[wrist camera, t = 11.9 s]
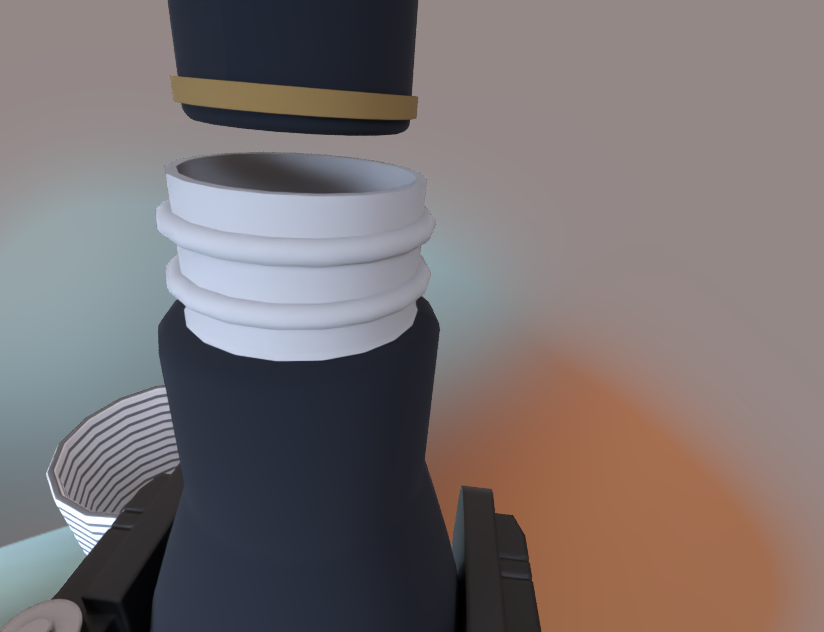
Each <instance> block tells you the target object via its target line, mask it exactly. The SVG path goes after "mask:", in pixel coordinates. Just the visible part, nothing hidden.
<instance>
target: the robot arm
mask: <svg viewBox="0 0 824 632" xmlns="http://www.w3.org/2000/svg"><path fill="white" fill-rule="evenodd" d="M183 487H184V480H183V474H182V469H181V464H180V463H179V464H178V466H177V467H176V468H175V470H174V471H173V472H172V474H165V473H161V474H159V475H158V476H157V477H155V478H154V479H153V480H151V481H150V482H148V483H147V484H146V485H144V486H143V487H142V488H140V489H139V491H138V492H137V493H136V494H135V496H134V497H133V498H132V499H131V501H130V502H129V503H128V504H127V506H126V507H125V510H124V512H121V513H120V515H119V516H118V517H117V518H116V520H115V521H114V522H113V523H112V527H111V528H110V529H108V530H107V531H106V532H105V534H104V535H103V536H102V537H101V539H100V540H99V541H98V542H97V544H96V545H95V546H94V547H93V549H92V550H91V551H90V552H89V554H88V555H87V556H86V558H85V559H84V560H83V561H82V563H81V564H80V565H79V566H78V568H77V569H76V570H75V571H74V573H73V574H72V575H71V576H70V578H69V579H68V580H67V582H66V583H65V584H64V585H63V587H62V588H61V589H60V590H59V592H58V593H57V594H56V595H55V596H54V597H53V598H52V599H51V600H49V601H45V602H42V603H39V604H36V605H34V606H32V607H30V608H28V609H26V610H24V611H23V612H21V613H20V614H18V615H17V616H15V617H14V618H13V619H11V620H10V621H9V622H8V623H6V624H5V625H4V626H3V627H2V628H1V629H0V632H150V625H151V613H152V601H153V596H154V592H155V588H156V584H157V581H158V577H159V573H160V569H161V565H162V562H163V558H164V554H165V550H166V547H167V543H168V539H169V536H170V532H171V529H172V525H173V522H174V519H175V515H176V512H177V508H178V505H179V501H180V498H181V494H182V491H183ZM452 552H453V556H454V560H455V563H456V567H457V575H458V583H459V591H460V599H459V632H541V627H540V621H539V615H538V609H537V603H536V598H535V592H534V586H533V582H532V574H531V568H530V563H529V556H528V550H527V544H526V538H525V535H524V533H523V531H522V530H521V528H520V526H519V525H518V523H517V521H516V520H515V518H514V516H513V515H505V514H498V513H495V508H494V499H493V492H492V490H491V489H486V488H477V487H468V486H461V489H460V495H459V501H458V507H457V512H456V518H455V525H454V531H453V542H452Z"/></svg>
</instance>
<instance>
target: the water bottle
mask: <svg viewBox="0 0 824 632" xmlns="http://www.w3.org/2000/svg"><path fill="white" fill-rule="evenodd" d="M168 7H169V14H170V22H171V29H172V36H173V43H174V52H175V59H176V67H177V74H178V76H170V80H171V87H172V94H173V100H174V101H175V102H179V103H181V104H182V108H183V110H184V112H185V113H186V114H187V116H189V117H190V118H191V119H193V120H196V121H200V122H204V123H209V124H214V125H221V126H228V127H236V128H244V129H255V130H264V131H275V132H289V133H304V134H322V135H348V136H350V135H351V136H361V135H362V136H369V135H371V136H374V135H375V136H377V135H392V134H398V133H401V132H404V131H405V130H406V129H407V128H408V127H409V123H410V120H411V119H415V118H416V117H417V103H418V97H416V96H412V82H413V68H414V52H415V38H416V24H417V10H418V0H168ZM165 173H166V179H167V185H168V192H169V199H167V200H166V201H165V202H163V203H161V204H160V205H159V206H158V207H157V209H156V224H157V229H158V230H159V232H160V233H161V234H162V235H164V236H166V237H167V238H168V239H170V240H171V241H173V242H174V243H176V244H177V249H178V254H177V255H176V256H175V257H174V258H173V259H172V260H171V261H170V262H169V263H168V264H167V266H166V279H167V288H168V290H169V292H170V293H171V294H172V295H174V296H175V297H176V298H177V300H176V301H175V302H174V304H173V305H172V307H171V308H170V309H169V311H168V312H167V313H166V315H165V316H164V318H163V319H162V320H161V322H160V324H159V326H158V342H159V357H160V362H161V367H162V373H163V377H164V383H165V388H166V393H167V398H168V403H169V408H170V413H171V418H172V424H173V429H174V434H175V439H176V444H177V449H178V454H179V459H180V464H181V469H182V474H183V480H184V487H183V491H182V494H181V498H180V501H179V505H178V508H177V512H176V515H175V519H174V522H173V525H172V529H171V532H170V536H169V539H168V543H167V547H166V550H165V554H164V558H163V562H162V565H161V569H160V573H159V577H158V581H157V584H156V588H155V592H154V596H153V601H152V613H151V625H150V632H459V599H460V591H459V583H458V575H457V567H456V563H455V560H454V556H453V552H452V548H451V545H450V541H449V537H448V533H447V529H446V526H445V523H444V519H443V516H442V513H441V509H440V506H439V503H438V500H437V496H436V493H435V490H434V487H433V483H432V480H431V477H430V474H429V471H428V468H427V465H426V462H425V452H426V443H427V434H428V426H429V417H430V409H431V400H432V391H433V383H434V374H435V366H436V358H437V349H438V341H439V331H440V328H439V323H438V320H437V318H436V316H435V314H434V312H433V309H432V307H431V305H430V304H429V302H428V301H427V300H426V299H425V298H423V297H422V295H423V294H424V293H425V291H426V288H427V285H428V282H429V279H430V275H431V274H430V273H431V272H430V270H429V267H428V266H427V264H426V262H425V260H424V258H423V257H422V255H421V254H420V251H421V245H422V244H424V243H426V242H427V241H428V240H429V239H430V237H431V235H432V233H433V230H434V228H435V225H436V220H435V218H434V216H433V215H432V214H431V213H430V211H429V210H428V209H427V208H426V206H425V194H426V183H427V179H426V178H425V177H424V176H423V175H422V174H421V173H419V172H416V171H414V170H411V169H408V168H405V167H402V166H397V165H393V164H389V163H384V162H379V161H372V160H366V159H359V158H351V157H342V156H332V155H321V154H304V153H276V152H249V153H224V154H223V153H222V154H211V155H201V156H194V157H189V158H183V159H179V160H175V161H173V162H171V163H169V164H167V165H165Z"/></svg>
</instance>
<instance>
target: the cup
mask: <svg viewBox="0 0 824 632" xmlns="http://www.w3.org/2000/svg"><path fill="white" fill-rule="evenodd" d="M179 463H180V459H179V454H178V449H177V444H176V439H175V434H174V429H173V424H172V418H171V413H170V408H169V403H168V398H167V393H166V388H165V385H162V386H155V387H152V388H149V389H146V390H143V391H141V392H137V393H134V394H131V395H129V396H125V397H122V398H120V399H118V400H116V401H114V402H113V403H111V404H109V405H107V406H105V407H104V408H102V409H100V410H98V411H97V412H95V413H93V414H91V415H90V416H88V417H86V418H85V419H84V420H83V421H82V422H81V423H80V424H79V425H78V426H77V427H76V428H75V429H74V430H73V431H72V432H71V433H70V434H69V435H67V436H66V437H65V438H64V439H63V440H62V441H61V442H60V443H59V445H58V446H57V449H56V451H55V453H54V456H53V458H52V461H51V463H50V466H49V468H48V471H47V473H46V476H47V479H48V482H49V485H50V488H51V491H52V494H53V498H54V501H55V503H56V504H57V506H58V508H59V509H60V511H61V513H62V515H63V516H64V518H65V520H66V522H67V523H68V525H69V527H70V529H71V530H72V532H73V534H74V535H75V537H76V539H77V541H78V542H79V544H80V546H81V548H82V549H83V551H84V553H85V555H86V556H87V555H88V554H89V552H90V551H91V550H92V549H93V547H94V546H95V545H96V544H97V542H98V541H99V540H100V539H101V537H102V536H103V535H104V534H105V532H106V531H107V530H108V529H110V528H111V527H112V523H113V522H114V521H115V520H116V518H117V517H118V516H119V515H120V513H121V512H124V510H125V507H126V506H127V504H128V503H129V502H130V501H131V499H132V498H133V497H134V496H135V494H136V493H137V492H138V491H139V489H140V488H142V487H143V486H144V485H146V484H147V483H148V482H150V481H151V480H153V479H154V478H155V477H157V476H158V475H159V474H161V473H165V474H172V472H173V471H174V470H175V468H176V467H177V466H178V464H179Z"/></svg>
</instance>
